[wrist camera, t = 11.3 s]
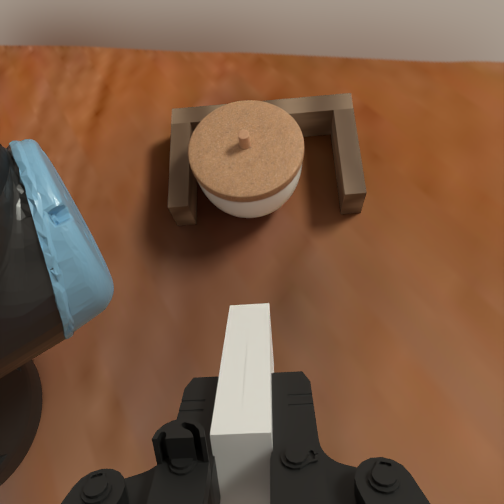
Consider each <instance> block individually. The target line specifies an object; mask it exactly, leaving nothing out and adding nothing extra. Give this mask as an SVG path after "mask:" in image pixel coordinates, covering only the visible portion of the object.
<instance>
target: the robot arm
mask: <svg viewBox="0 0 504 504" xmlns="http://www.w3.org/2000/svg"><path fill="white" fill-rule="evenodd" d="M9 144H10V145H9V146H8V147H7V148H4V147H3V146H2V145H1V144H0V485H1V484H2V483H4V482H5V481H6V480H7V479H8V478H9V477H10V475H11V474H12V473H13V472H14V471H15V470H16V468H17V467H18V466H19V465H20V463H21V462H22V460H23V459H24V457H25V455H26V454H27V452H28V450H29V448H30V446H31V444H32V442H33V440H34V437H35V435H36V432H37V429H38V426H39V421H40V417H41V410H42V387H41V382H40V378H39V374H38V371H37V369H36V367H35V365H34V363H33V361H32V359H33V358H35V357H37V356H38V355H40V354H41V353H43V352H45V351H46V350H48V349H50V348H51V347H53V346H55V345H56V344H58V343H60V342H61V341H63V340H65V339H68V338H70V337H71V336H72V335H73V333H74V331H76V330H77V329H79V328H80V327H81V326H83V325H84V324H86V323H87V322H88V321H90V320H91V319H93V318H94V317H95V316H97V315H98V314H100V313H101V312H103V311H104V310H105V308H106V307H107V306H108V304H109V302H110V301H111V299H112V295H113V292H114V286H113V280H112V277H111V275H110V272H109V270H108V268H107V265H106V263H105V261H104V259H103V257H102V255H101V252H100V250H99V248H98V246H97V244H96V242H95V240H94V238H93V236H92V234H91V233H90V231H89V229H88V227H87V225H86V223H85V221H84V219H83V217H82V215H81V214H80V212H79V210H78V208H77V206H76V205H75V203H74V201H73V199H72V197H71V195H70V194H69V192H68V190H67V188H66V187H65V185H64V183H63V181H62V180H61V178H60V176H59V174H58V173H57V171H56V169H55V168H54V166H53V164H52V163H51V161H50V160H49V158H48V157H47V155H46V154H45V152H43V151H42V149H41V148H40V146H39V144H38V143H37V142H36V141H34V140H31V139H25V140H22V141H12V142H10V143H9ZM152 442H153V446H154V451H155V456H156V461H157V466H155V467H154V468H152V469H150V470H149V471H146V472H144V473H141V474H138V475H135V476H132V477H129V478H125V479H124V477H123V476H122V475H121V473H120V472H118V471H116V470H113V469H100V470H97V471H94V472H91V473H89V474H88V475H86V476H85V477H83V478H81V479H80V480H79V481H78V482H77V483H76V485H75V486H74V487H73V488H72V489H71V491H70V492H69V493H68V495H67V496H66V497H65V499H64V500H63V502H62V503H61V504H430V503H429V501H428V500H427V498H426V497H425V495H424V494H423V492H422V491H421V489H420V488H419V486H418V485H417V483H416V482H415V480H414V479H413V477H412V476H411V474H410V473H409V472H408V471H407V470H406V469H405V468H404V466H403V465H401V464H399V463H397V462H396V461H394V460H391V459H387V458H383V457H377V458H370V459H367V460H365V461H363V462H362V463H361V464H360V465H359V466H358V467H357V468H356V467H352V466H348V465H344V464H341V463H338V462H336V461H334V460H333V459H331V458H330V457H328V456H327V455H326V454H325V453H324V451H323V450H322V448H321V447H320V443H319V439H318V432H317V425H316V418H315V412H314V406H313V398H312V391H311V384H310V381H309V379H308V378H307V377H306V376H305V374H304V373H303V372H302V371H301V372H281V373H274V362H273V348H272V335H271V322H270V308H269V303H265V304H248V305H230V309H229V315H228V322H227V328H226V334H225V341H224V347H223V354H222V360H221V366H220V373H219V377H200V378H193V379H192V381H191V382H190V383H189V384H188V385H187V386H186V388H185V390H184V393H183V397H182V403H181V405H180V409H179V413H178V417H177V420H174V421H171V422H169V423H167V424H165V425H163V426H162V427H161V428H160V429H159V430H157V431H156V433H155V435H154V437H153V438H152Z"/></svg>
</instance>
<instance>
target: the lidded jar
mask: <svg viewBox="0 0 504 504" xmlns="http://www.w3.org/2000/svg"><path fill="white" fill-rule="evenodd" d="M303 157H304V138H303V134H302V131H301V129H300V127H299V125H298V124H297V122H296V121H295V120H294V118H293V117H292V116H290V115H289V114H288V113H287V112H286V111H284V110H283V109H281V108H279V107H277V106H275V105H273V104H270V103H267V102H262V101H253V100H246V101H238V102H232V103H229V104H226V105H224V106H222V107H219V108H217V109H215V110H214V111H212V112H211V113H209V114H208V115H207V116H206V117H205V118H203V119H202V121H201V122H200V123H199V124H198V125H197V127H196V128H195V130H194V131H193V133H192V136H191V138H190V141H189V146H188V159H189V164H190V167H191V170H192V172H193V174H194V176H195V178H196V179H197V181H198V184H199V185H200V187H201V189H202V191H203V192H204V194H205V195H206V196H207V198H208V199H209V200H210V201H211V202H212V203H213V204H214V205H215V206H216V207H217V208H219V209H220V210H222V211H224V212H226V213H228V214H230V215H233V216H236V217H241V218H256V217H261V216H265V215H267V214H270V213H272V212H274V211H276V210H277V209H278V208H280V207H281V206H282V205H283V204H284V203H285V202H286V201H287V200H288V199H289V198H290V197H291V195H292V194H293V192H294V190H295V188H296V186H297V184H298V181H299V178H300V174H301V169H302V162H303Z"/></svg>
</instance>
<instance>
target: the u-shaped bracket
mask: <svg viewBox="0 0 504 504" xmlns="http://www.w3.org/2000/svg"><path fill="white" fill-rule="evenodd" d="M262 102H267V103H270V104H273V105H275V106H277V107H279V108H281V109H283V110H284V111H286V112H287V113H288V114H289V115H290V116H292V117H293V118H294V120H295V121H296V122H297V124H298V125H299V127H300V129H301V131H302V134H303V137H305V136H318V135H330V134H331V141H332V149H333V157H334V165H335V173H336V180H337V188H338V196H339V204H340V212H341V214H349V213H361V209H362V206H363V203H364V199H365V196H366V187H365V180H364V174H363V167H362V161H361V155H360V148H359V142H358V135H357V129H356V123H355V116H354V110H353V104H352V97H351V93H346V94H335V95H324V96H313V97H301V98H290V99H279V100H267V101H262ZM224 105H226V104H222V105H211V106H200V107H188V108H177V109H172V121H171V144H170V167H169V189H168V209H169V211H170V213H171V214H172V216H173V218H174V220H175V222H176V224H177V225H178V226H180V225H194V224H196V220H197V179H196V178H195V176H194V174H193V172H192V170H191V167H190V164H189V159H188V146H189V141H190V138H191V136H192V133H193V131H194V130H195V128H196V127H197V125H198V124H199V123H200V122H201V121H202V119H203V118H205V117H206V116H207V115H208V114H209V113H211V112H212V111H214V110H215V109H217V108H219V107H222V106H224Z"/></svg>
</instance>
